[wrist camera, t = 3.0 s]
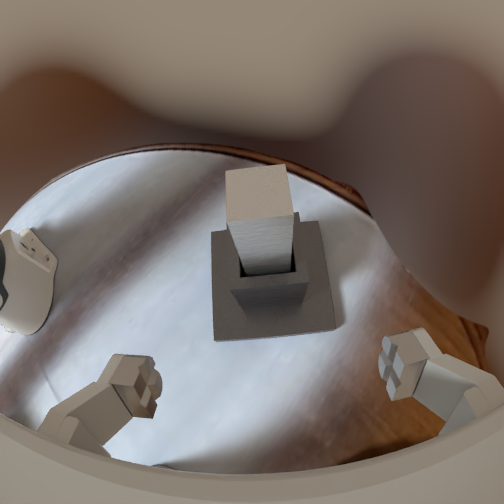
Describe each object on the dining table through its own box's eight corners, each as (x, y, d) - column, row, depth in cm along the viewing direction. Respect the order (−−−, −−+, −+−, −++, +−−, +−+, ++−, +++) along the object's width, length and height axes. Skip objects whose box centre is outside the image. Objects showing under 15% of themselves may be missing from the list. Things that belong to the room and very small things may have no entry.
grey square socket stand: (216, 341, 32) (188, 330, 22) (213, 237, 38) (191, 191, 28) (333, 330, 31) (356, 313, 22) (316, 226, 37) (327, 176, 27)
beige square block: (253, 296, 32) (224, 223, 17) (250, 262, 34) (223, 168, 18) (289, 292, 32) (295, 216, 16) (285, 258, 34) (286, 161, 18)
